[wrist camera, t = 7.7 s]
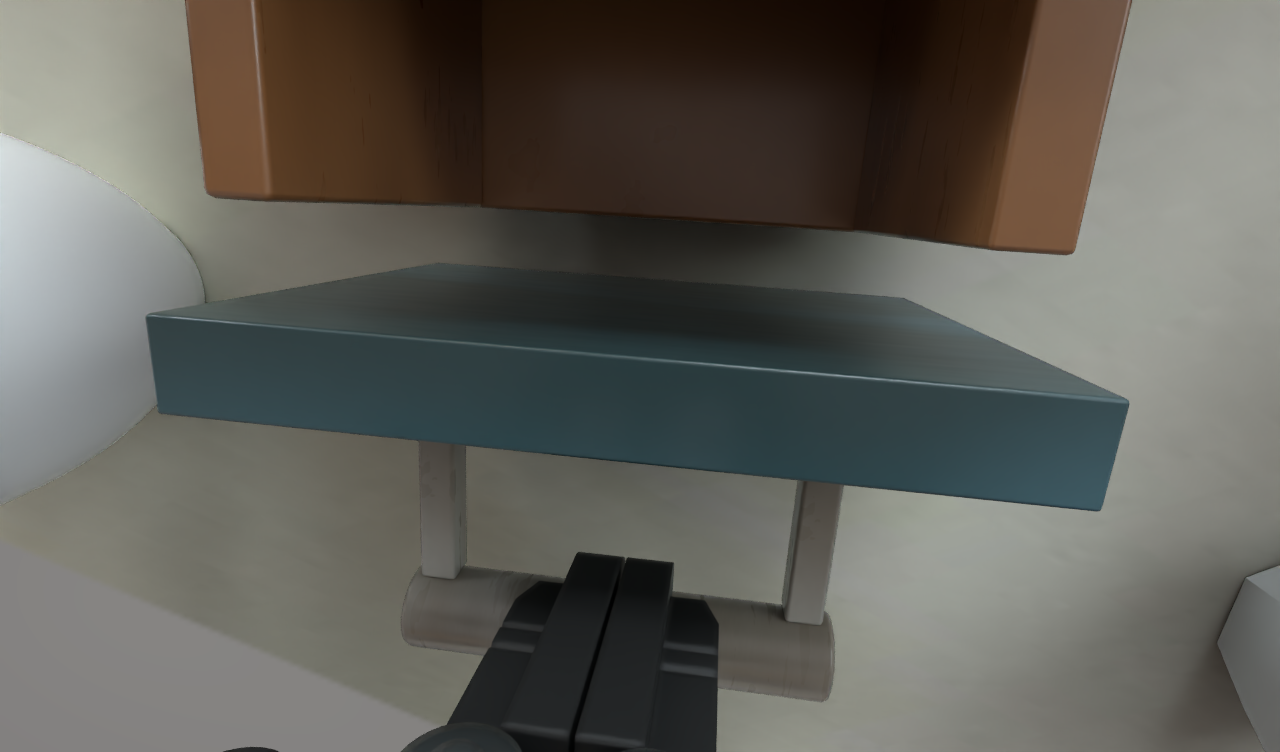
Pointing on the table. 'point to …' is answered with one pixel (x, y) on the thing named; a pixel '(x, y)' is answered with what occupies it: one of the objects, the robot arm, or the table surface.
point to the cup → (75, 313)
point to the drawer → (651, 308)
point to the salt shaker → (1256, 653)
